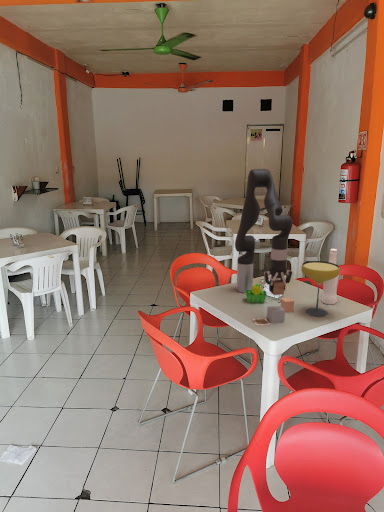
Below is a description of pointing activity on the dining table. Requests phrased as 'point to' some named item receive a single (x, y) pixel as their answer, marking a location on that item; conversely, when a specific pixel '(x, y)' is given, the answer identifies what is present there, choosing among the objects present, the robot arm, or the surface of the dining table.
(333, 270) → the cocktail glass
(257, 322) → the tile
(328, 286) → the bottle
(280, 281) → the walnut block
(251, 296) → the fruit basket
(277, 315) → the grey block
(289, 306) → the terracotta block
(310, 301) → the dining table surface
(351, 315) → the dining table surface
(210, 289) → the dining table surface
